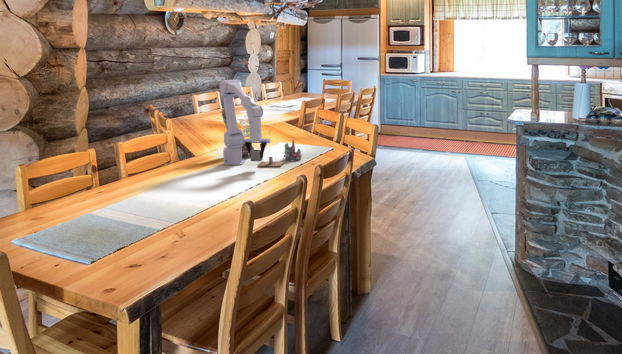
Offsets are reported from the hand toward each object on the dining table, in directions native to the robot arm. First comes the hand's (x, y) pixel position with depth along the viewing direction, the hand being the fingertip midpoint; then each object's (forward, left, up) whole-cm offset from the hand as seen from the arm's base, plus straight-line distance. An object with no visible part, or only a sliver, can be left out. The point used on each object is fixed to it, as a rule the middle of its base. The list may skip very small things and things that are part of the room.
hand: (256, 157), depth 285 cm
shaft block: (+5, +11, -7) cm, 14 cm away
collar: (0, 0, -2) cm, 2 cm away
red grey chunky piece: (+14, +27, -7) cm, 32 cm away
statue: (-18, +35, -7) cm, 40 cm away
